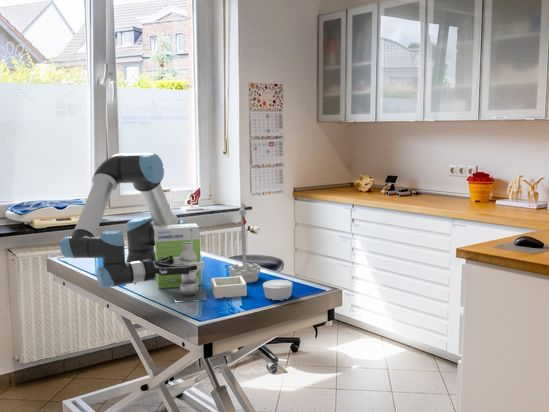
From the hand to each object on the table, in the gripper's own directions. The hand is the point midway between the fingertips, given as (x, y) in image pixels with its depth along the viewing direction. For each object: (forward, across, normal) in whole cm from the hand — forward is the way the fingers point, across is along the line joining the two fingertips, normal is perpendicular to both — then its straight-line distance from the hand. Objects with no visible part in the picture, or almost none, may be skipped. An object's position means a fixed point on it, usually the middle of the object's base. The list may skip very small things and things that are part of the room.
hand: (196, 261), depth 221 cm
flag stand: (+25, -9, -13) cm, 30 cm away
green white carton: (0, -19, -13) cm, 23 cm away
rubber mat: (-3, 0, -13) cm, 13 cm away
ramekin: (+23, +20, -13) cm, 34 cm away
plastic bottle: (-3, 0, -13) cm, 13 cm away
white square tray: (+11, +4, -13) cm, 18 cm away
